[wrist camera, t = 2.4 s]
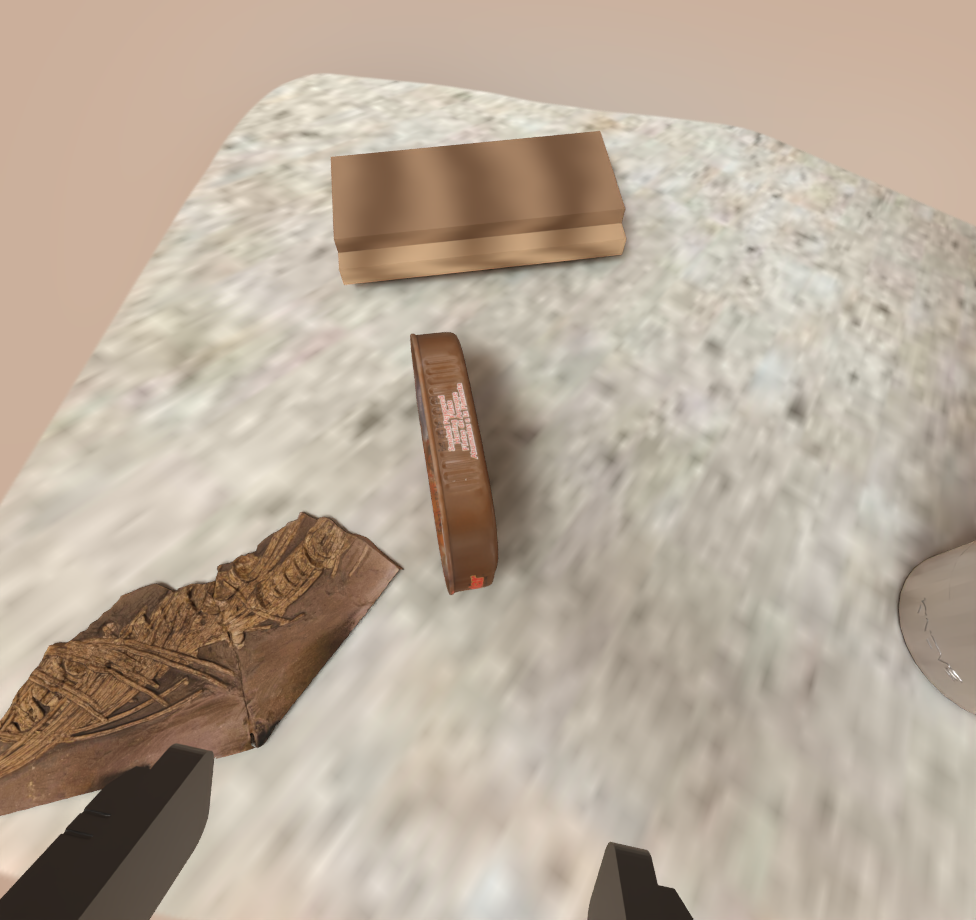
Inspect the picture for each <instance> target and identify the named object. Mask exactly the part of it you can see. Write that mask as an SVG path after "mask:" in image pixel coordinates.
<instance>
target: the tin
mask: <svg viewBox="0 0 976 920" xmlns="http://www.w3.org/2000/svg"><path fill="white" fill-rule="evenodd" d="M410 341H411V353H412V362H413V370H414V378H415V388H416V399H417V407H418V413H419V420H420V426H421V433H422V440H423V447H424V453H425V460H426V466H427V472H428V479H429V485H430V492H431V499H432V505H433V512H434V519H435V525H436V531H437V537H438V544H439V550H440V555H441V561H442V567H443V572H444V577H445V581H446V586H447V589H448V592H449V595H453V594H454V593H455V592H459V591H464V590H471V589H477V588H482V587H486V586H489V585H491V584H492V582H493V579H494V574H495V570H496V568H497V563H498V541H497V529H496V520H495V513H494V506H493V499H492V493H491V487H490V482H489V476H488V471H487V466H486V461H485V456H484V451H483V445H482V441H481V435H480V430H479V425H478V420H477V415H476V411H475V406H474V401H473V396H472V392H471V387H470V382H469V378H468V373H467V369H466V364H465V359H464V356H463V352H462V348H461V345H460V342H459V340H458V338H457V336H456V335H455V334H454V333H451V332H442V333H432V334H423V335H415V334H411V335H410Z"/></svg>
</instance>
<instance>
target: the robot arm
mask: <svg viewBox="0 0 976 920" xmlns="http://www.w3.org/2000/svg"><path fill="white" fill-rule="evenodd" d="M899 616H900V625H901V629H902V633H903V636H904V639H905V642H906V645H907V647H908V649H909V651H910V653H911V655H912V657H913V659H914V661H915V662H916V664H917V665H918V667H919V668H920V669H921V671H922V672H923V673H924V675H925V676H926V677H927V679H928V680H929V681H930V682H931V683H932V684H933V685H934V686H935V687H936V688H937V689H938V690H939V691H940V692H941V693H942V694H943V695H944V696H946V697H947V698H948V699H950V700H951V701H953V702H954V703H955V704H957V705H958V706H960V707H961V708H962V709H964V710H966V711H969V712H971V713H973V714H975V715H976V541H973V542H971V543H968V544H965V545H963V546H960V547H957V548H955V549H952V550H949V551H947V552H944V553H941V554H939V555H936V556H933V557H931V558H928V559H926V560H925V561H923V562H922V563H921V564H919V565H918V566H917V567H915V568H914V570H913V571H912V572H911V574H910V575H909V576H908V578H907V579H906V581H905V583H904V586H903V589H902V591H901V595H900V603H899ZM213 765H214V754H213V752H212V751H209V750H205V749H200V748H196V747H191V746H187V745H182V744H178V743H175V744H173V745H171V746H170V747H169V748H168V749H167V750H166V751H165V753H164V754H163V755H162V756H161V757H160V758H159V760H158V761H157V762H156V763H155V764H154V765H153V767H152V768H151V769H148V768H144V767H139V766H135V767H134V768H132V769H131V770H129V771H127V772H126V773H124V774H123V775H121V776H119V777H118V778H116V779H115V780H113V781H111V782H110V783H108V784H107V785H106V786H105V787H104V788H103V789H102V790H101V791H100V792H99V793H98V794H97V796H96V797H95V798H94V799H93V800H92V801H91V802H90V803H89V804H88V805H87V806H86V807H85V809H84V812H83V813H80V814H79V815H78V816H77V817H76V818H75V819H74V820H73V821H72V823H71V824H70V825H69V826H68V827H67V828H66V830H65V832H64V834H60V835H59V837H58V838H57V839H56V840H55V841H54V842H53V843H52V844H51V845H50V846H49V847H48V848H47V849H46V851H45V852H44V853H43V854H42V855H41V856H40V857H39V858H38V859H37V860H36V861H35V862H34V864H33V865H32V866H31V867H30V868H29V869H28V870H27V871H26V872H25V873H24V874H23V875H22V876H21V878H20V879H19V880H18V881H17V882H16V883H15V884H14V885H13V886H12V887H11V888H10V889H9V891H8V892H7V893H6V894H5V895H4V896H3V897H2V898H1V899H0V920H149V919H150V918H151V916H152V915H153V913H154V912H155V910H156V909H157V907H158V905H159V904H160V902H161V901H162V899H163V898H164V896H165V895H166V893H167V891H168V890H169V888H170V887H171V885H172V884H173V882H174V881H175V879H176V877H177V876H178V874H179V873H180V871H181V870H182V868H183V867H184V865H185V863H186V862H187V860H188V859H189V857H190V856H191V854H192V853H193V851H194V849H195V848H196V846H197V844H198V842H199V840H200V838H201V836H202V833H203V831H204V828H205V825H206V822H207V819H208V814H209V806H210V796H211V786H212V775H213ZM588 920H693V918H692V916H691V915H690V913H689V911H688V910H687V908H686V907H685V905H684V903H683V902H682V900H681V898H680V897H679V895H678V894H677V892H676V890H675V889H673V888H668V887H664V886H659V885H658V884H657V880H656V875H655V871H654V866H653V862H652V858H651V855H650V853H649V851H648V850H644V849H640V848H635V847H631V846H626V845H622V844H618V843H613V842H609V843H608V845H607V847H606V850H605V853H604V857H603V860H602V863H601V866H600V870H599V873H598V876H597V880H596V883H595V886H594V890H593V893H592V896H591V900H590V904H589V910H588Z"/></svg>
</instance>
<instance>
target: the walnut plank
mask: <svg viewBox="0 0 976 920" xmlns="http://www.w3.org/2000/svg"><path fill="white" fill-rule="evenodd" d="M331 176H332V203H333V229H334V241H335V244H336V247H337V250H338V257H339V271H340V274H341V277H342V280H343V283H344V285H347V284H356V283H366V282H375V281H384V280H393V279H402V278H412V277H421V276H430V275H439V274H448V273H458V272H467V271H476V270H485V269H494V268H503V267H513V266H522V265H531V264H540V263H549V262H559V261H568V260H577V259H586V258H595V257H605V256H614V255H622V252H623V249H624V245H625V242H626V236H625V233H624V230H623V226H622V219H623V215H624V212H625V207H624V203H623V200H622V197H621V194H620V191H619V188H618V185H617V182H616V179H615V176H614V172H613V169H612V166H611V163H610V160H609V157H608V154H607V151H606V148H605V145H604V141H603V138H602V135H601V132H600V131H595V132H585V133H575V134H564V135H554V136H544V137H533V138H523V139H513V140H502V141H492V142H481V143H471V144H461V145H450V146H440V147H430V148H419V149H409V150H399V151H388V152H378V153H368V154H357V155H347V156H337V157H331Z"/></svg>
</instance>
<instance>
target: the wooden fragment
mask: <svg viewBox="0 0 976 920" xmlns="http://www.w3.org/2000/svg"><path fill="white" fill-rule="evenodd" d="M400 569H403V568H401V567H399V566H398V565H396V564H395V563H394V562H393V561H392V560H391V559H389V558H388V557H387V556H386V555H385V554H383V553H382V552H381V551H380V550H379V549H378V548H377V547H376V546H375V545H374V544H373V543H372V542H371V541H370V540H369V539H368V538H366V537H364V536H361V535H356V534H349V533H347V532H345V531H344V530H342V529H341V528H340V527H338V526H337V525H336V524H335V523H334V522H333V520H330V519H328V518H325V517H322V518H319V519H314V518H312V517H310V516H308V515H306V514H305V513H303V512H300V514H299V517H298V519H297V520H294V521H292V522H289V523H287V524H286V526H285V527H283V528H282V529H280V530H279V531H277V532H275V533H273V534H271V535H270V536H268V537H267V538H266V539H264V540H263V541H262V542H261V543H260V544H259V545H258V546H257V550H256V551H255V552H253V553H248V554H247V555H246V556H243V555H241V556H239V557H238V558H236V559H235V560H234V561H233V562H231V563H227V564H222V565H219V566H218V567H217V570H218V574H217V576H216V581H213V582H209V583H205V584H190V585H188V586H185V587H182V588H179V589H178V590H177V591H174V590H170V589H168V588H165V587H163V586H160V585H158V584H151V585H149V586H145V587H142V588H139V589H137V590H135V591H133V592H131V593H128V594H125V595H122V596H121V597H120V599H119V600H118V601H117V602H116V603H115V604H114V605H113V606H112V608H111V609H110V610H108V611H106V612H104V613H103V614H102V616H101V617H100V618H99V619H98V620H96V621H94V622H93V623H91V624H90V625H89V627H88V629H87V630H86V631H83V632H80V633H79V634H78V635H77V636H76V637H75V638H74V639H72V640H71V641H69V642H68V643H55V644H54V645H49V647H48V649H47V651H46V652H45V653H44V657H43V659H42V661H41V662H40V664H39V666H38V667H37V668H36V669H35V670H34V671H33V672H32V673H31V675H30V677H29V679H28V680H27V681H26V683H25V684H24V685H23V686H22V687H21V688H20V689H19V690H18V692H17V694H16V696H15V697H14V699H13V702H12V704H11V706H10V708H9V709H8V711H7V712H6V714H5V715H4V717H3V718H2V719H1V720H0V816H2V815H6V814H10V813H13V812H16V811H21V810H25V809H29V808H32V807H35V806H39V805H44V804H48V803H51V802H55V801H59V800H62V799H67V798H69V797H73V796H77V795H81V794H85V793H90V792H93V791H97V790H101V789H103V788H104V787H105V786H106V785H107V784H108V783H110V782H111V781H113V780H115V779H116V778H118V777H119V776H121V775H123V774H124V773H126V772H127V771H129V770H131V769H132V768H134V767H135V766H139V767H144V768H148V769H151V768H152V767H153V765H154V764H155V763H156V762H157V761H158V760H159V758H160V757H161V756H162V755H163V754H164V753H165V751H166V750H167V749H168V748H169V747H170V746H171V745H173V744H175V743H178V744H182V745H187V746H191V747H196V748H200V749H205V750H209V751H212V752H213V754H214V758H215V757H216V759H217V758H221V757H225V756H229V755H233V754H236V753H240V752H243V751H247V750H250V749H253V748H255V747H257V748H259V747H261V746H262V745H263V744H264V743H265V742H266V740H267V739H268V737H269V736H270V735H271V732H272V731H273V730H274V726H275V725H277V724H278V723H279V722H280V720H281V719H282V718H283V717H284V715H285V714H286V713H287V711H288V710H289V709H290V707H291V706H292V704H294V703H295V701H296V700H297V698H298V697H299V696H300V695H301V694H302V693H303V691H304V690H305V689H306V688H307V686H308V685H309V684H310V683H311V681H312V679H313V678H314V677H315V676H316V675H317V674H318V672H319V671H320V669H321V668H322V667H323V666H324V665H325V664H326V662H327V661H328V660H329V658H330V657H331V656H332V655H333V653H334V652H335V651H336V650H337V649H338V647H339V646H340V645H341V643H342V642H343V641H344V640H345V639H346V638H347V637H348V635H349V633H350V632H351V631H352V630H353V628H354V627H355V626H356V625H357V624H358V622H359V620H360V619H362V617H363V616H365V614H366V613H367V610H368V608H370V607H371V606H372V605H373V604H374V602H375V601H376V599H377V598H378V597H379V596H380V594H381V593H382V591H383V590H384V589H385V588H386V586H387V585H388V583H389V582H390V581H391V580H392V578H393V577H394V576H395V574H396V573H397V572H398V571H399V570H400ZM251 733H253V734H254V738H255V741H253V742H256V744H255V747H253V746H252V745H251V741H250V740H251V737H250V734H251Z"/></svg>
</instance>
